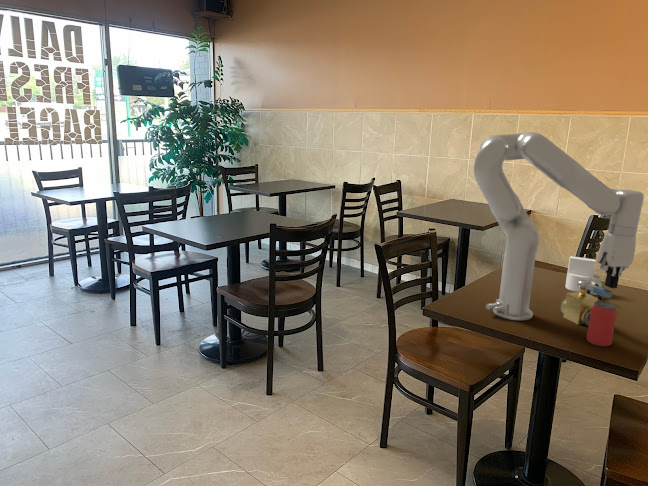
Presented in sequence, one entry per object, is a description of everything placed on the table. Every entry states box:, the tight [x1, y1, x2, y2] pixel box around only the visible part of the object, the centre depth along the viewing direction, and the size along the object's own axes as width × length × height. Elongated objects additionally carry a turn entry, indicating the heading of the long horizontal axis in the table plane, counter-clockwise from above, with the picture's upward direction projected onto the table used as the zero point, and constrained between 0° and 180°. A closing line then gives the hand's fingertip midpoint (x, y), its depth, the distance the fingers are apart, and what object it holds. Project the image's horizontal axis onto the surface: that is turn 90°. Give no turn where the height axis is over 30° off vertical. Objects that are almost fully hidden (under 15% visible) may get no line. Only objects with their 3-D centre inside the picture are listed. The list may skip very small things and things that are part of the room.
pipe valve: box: [560, 287, 599, 326], centre depth 165 cm, size 12×6×11 cm, turn 18°
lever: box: [577, 280, 613, 299], centre depth 159 cm, size 12×4×2 cm, turn 17°
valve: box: [586, 275, 605, 301], centre depth 188 cm, size 7×7×12 cm
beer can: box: [586, 300, 617, 347], centre depth 148 cm, size 7×7×12 cm
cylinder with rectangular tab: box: [565, 255, 597, 292], centre depth 195 cm, size 9×9×12 cm
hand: (610, 286), depth 161 cm, fingers closed
